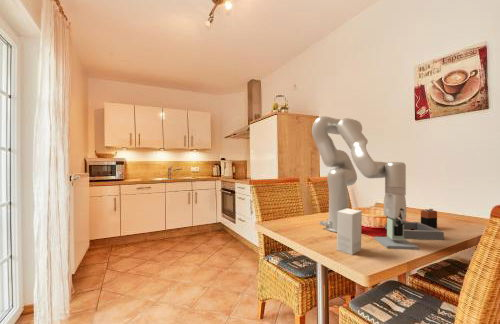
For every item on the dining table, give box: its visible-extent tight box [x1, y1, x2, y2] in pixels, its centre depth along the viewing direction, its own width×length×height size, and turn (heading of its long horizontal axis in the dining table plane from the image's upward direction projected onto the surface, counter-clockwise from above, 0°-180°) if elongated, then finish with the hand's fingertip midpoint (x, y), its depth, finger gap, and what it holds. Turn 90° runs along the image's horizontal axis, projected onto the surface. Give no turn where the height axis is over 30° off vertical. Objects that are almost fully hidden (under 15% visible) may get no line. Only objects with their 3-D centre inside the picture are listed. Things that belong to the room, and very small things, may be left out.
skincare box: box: [336, 208, 363, 256], centre depth 92 cm, size 8×7×16 cm
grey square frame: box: [384, 221, 445, 241], centre depth 115 cm, size 18×18×4 cm
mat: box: [373, 236, 420, 250], centre depth 100 cm, size 12×12×1 cm
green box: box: [386, 217, 405, 240], centre depth 100 cm, size 4×4×8 cm
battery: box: [420, 208, 438, 229], centre depth 126 cm, size 4×7×10 cm, turn 108°
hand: (394, 233), depth 100 cm, fingers closed on green box, 4 cm apart
